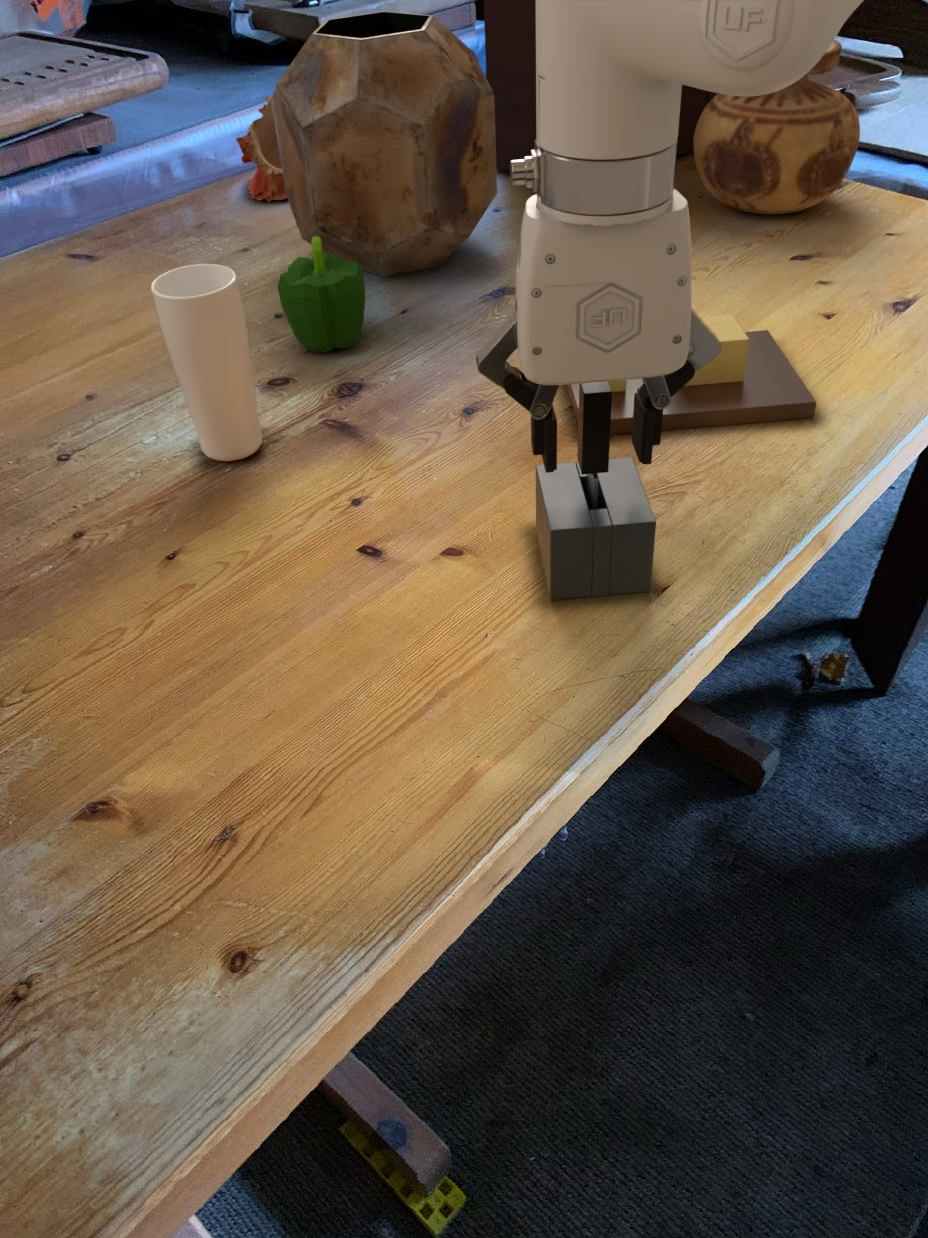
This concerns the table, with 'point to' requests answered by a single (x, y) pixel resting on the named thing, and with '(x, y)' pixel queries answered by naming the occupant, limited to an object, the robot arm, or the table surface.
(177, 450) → the table surface
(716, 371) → the butter
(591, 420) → the knife
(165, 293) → the drinking glass
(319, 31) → the planter
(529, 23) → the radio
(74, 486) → the table surface
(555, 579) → the knife block
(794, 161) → the clay pot
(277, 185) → the seashell
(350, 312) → the bell pepper
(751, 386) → the board
